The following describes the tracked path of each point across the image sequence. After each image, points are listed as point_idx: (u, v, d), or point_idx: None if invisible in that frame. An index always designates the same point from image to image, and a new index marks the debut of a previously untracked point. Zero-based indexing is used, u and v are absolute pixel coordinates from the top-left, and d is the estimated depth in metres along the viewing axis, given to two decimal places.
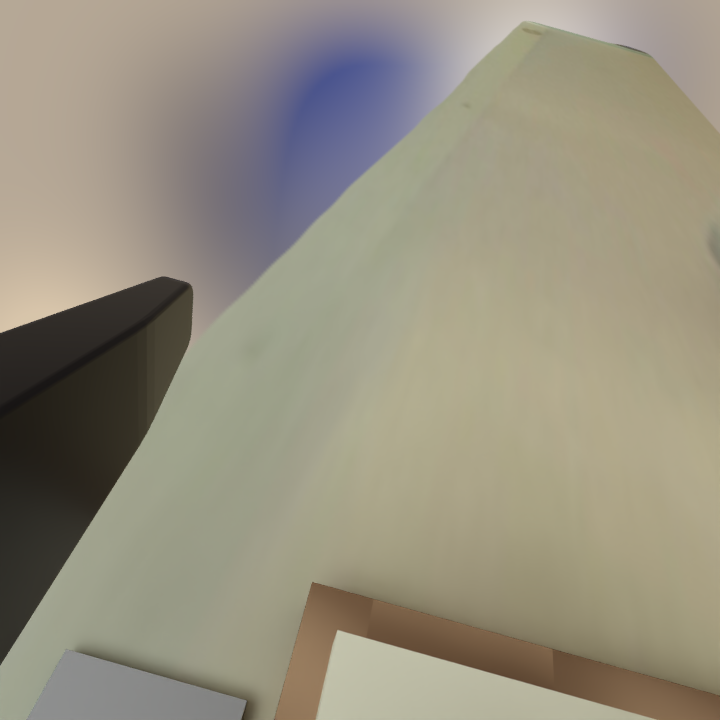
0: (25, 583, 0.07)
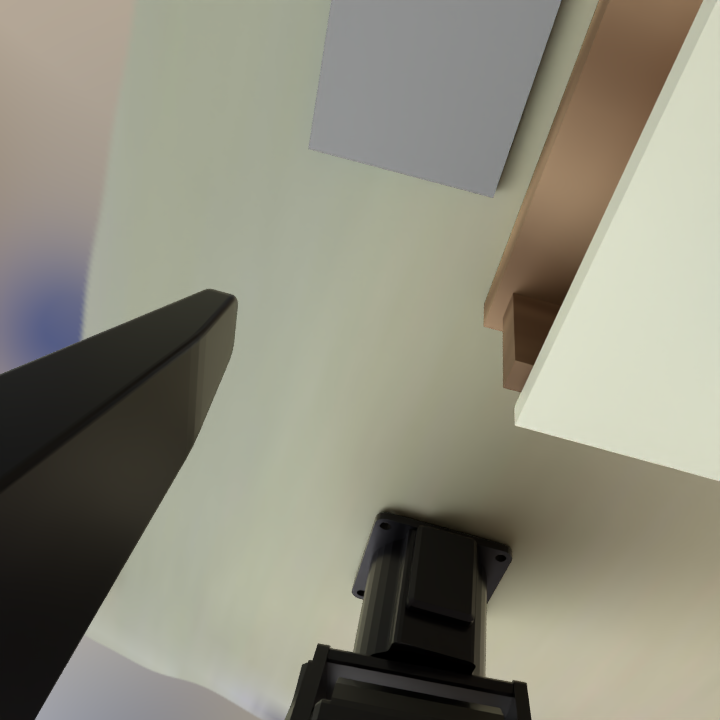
0: (82, 599, 0.07)
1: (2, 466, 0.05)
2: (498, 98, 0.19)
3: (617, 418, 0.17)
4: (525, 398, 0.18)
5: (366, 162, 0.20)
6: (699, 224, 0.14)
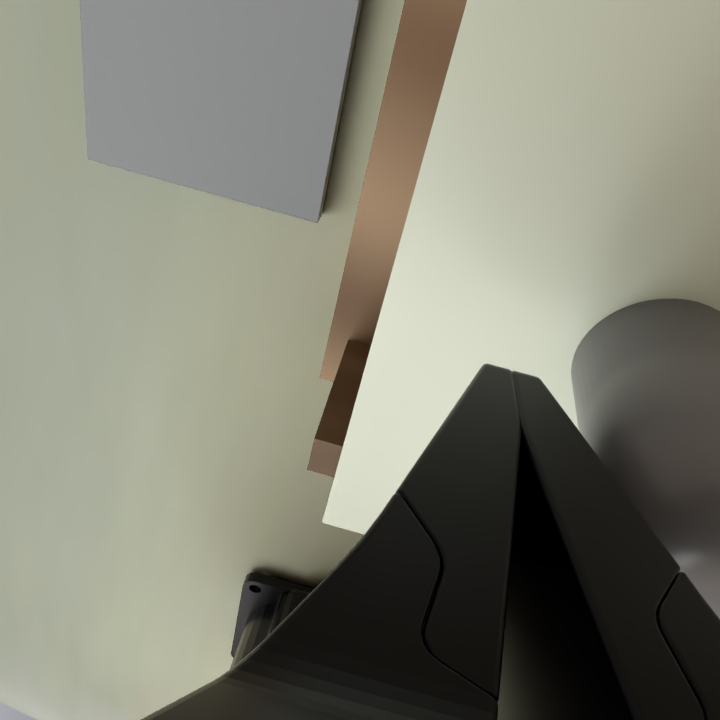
0: None
1: (489, 601, 0.05)
2: (304, 99, 0.15)
3: None
4: None
5: (159, 177, 0.16)
6: (506, 285, 0.10)
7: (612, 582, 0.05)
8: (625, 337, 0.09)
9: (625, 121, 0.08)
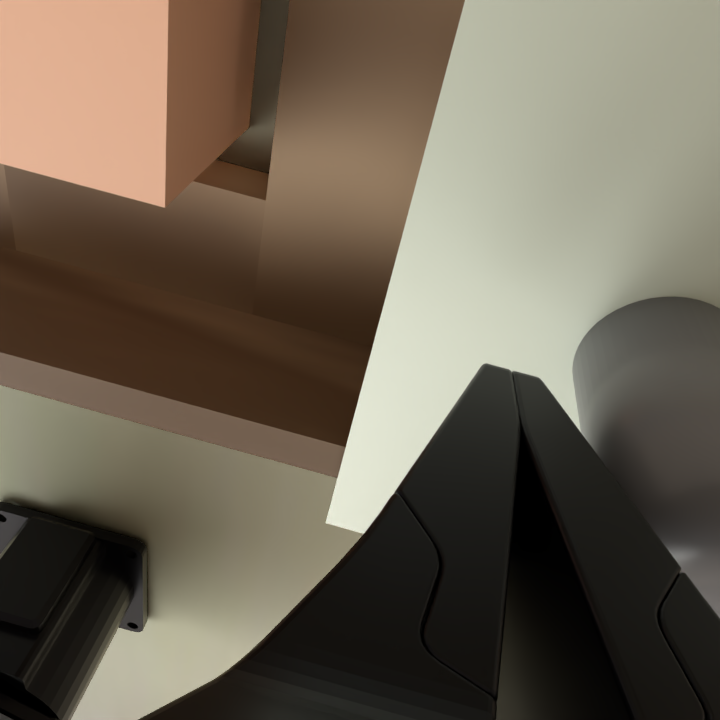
0: None
1: (488, 600, 0.05)
2: None
3: None
4: None
5: None
6: (506, 284, 0.10)
7: (613, 583, 0.05)
8: (626, 335, 0.09)
9: (623, 120, 0.08)
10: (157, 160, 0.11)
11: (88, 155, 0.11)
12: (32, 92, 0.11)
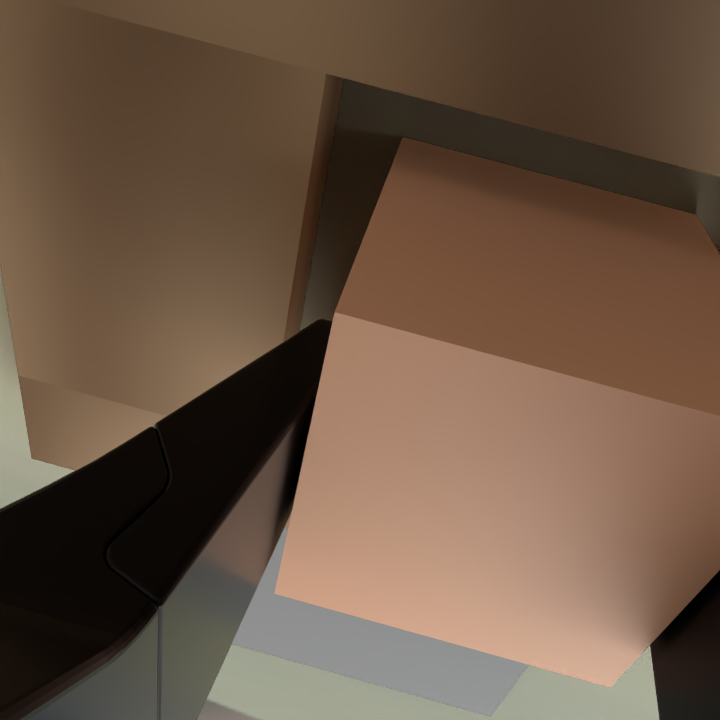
0: (224, 639, 0.07)
1: (198, 521, 0.05)
2: None
3: None
4: None
5: (511, 685, 0.17)
6: None
7: None
8: None
9: None
10: None
11: (684, 528, 0.07)
12: (565, 560, 0.07)
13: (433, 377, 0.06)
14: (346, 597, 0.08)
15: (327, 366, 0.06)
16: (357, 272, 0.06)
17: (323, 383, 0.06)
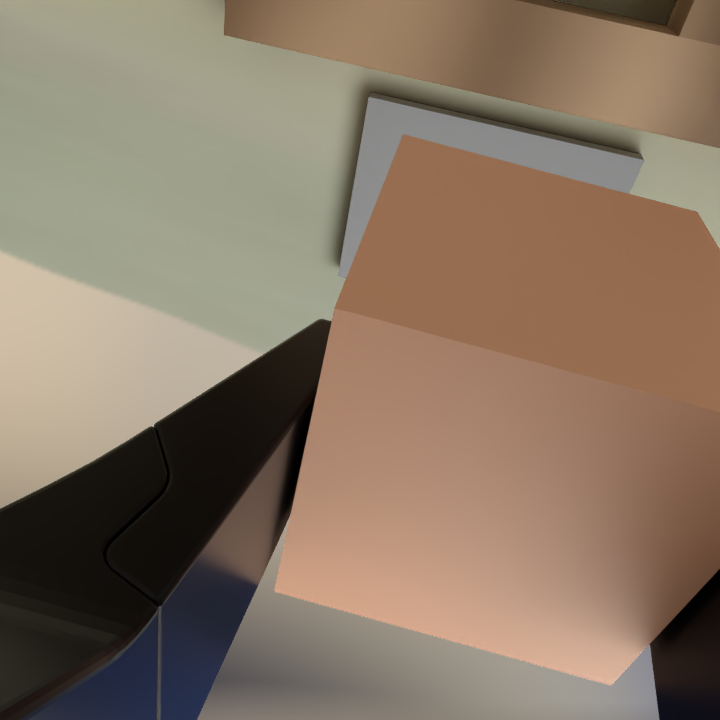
0: (224, 639, 0.07)
1: (198, 521, 0.05)
2: (535, 163, 0.19)
3: None
4: None
5: None
6: None
7: None
8: None
9: None
10: None
11: (685, 525, 0.06)
12: (565, 557, 0.07)
13: (433, 374, 0.06)
14: (346, 595, 0.08)
15: (327, 363, 0.06)
16: (357, 268, 0.06)
17: (323, 380, 0.06)
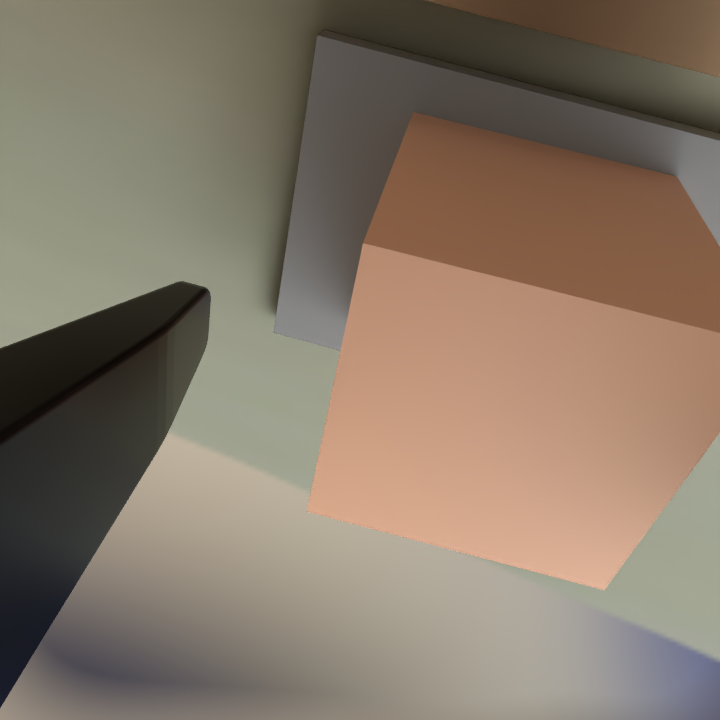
0: (47, 589, 0.07)
1: None
2: None
3: None
4: None
5: None
6: None
7: None
8: None
9: None
10: (693, 339, 0.07)
11: (660, 430, 0.08)
12: (560, 465, 0.08)
13: (445, 298, 0.07)
14: (370, 511, 0.09)
15: (356, 292, 0.07)
16: (380, 215, 0.07)
17: (352, 308, 0.07)
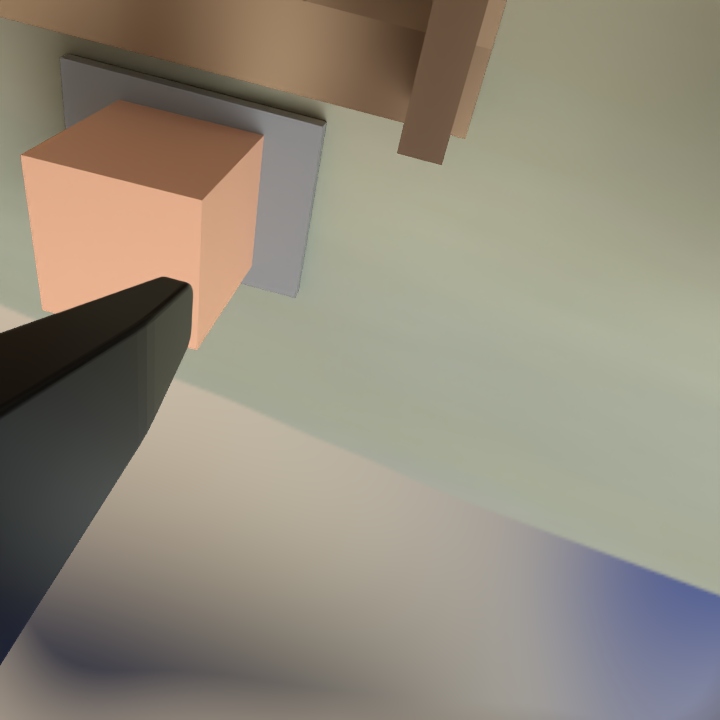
0: (25, 583, 0.07)
1: None
2: None
3: None
4: None
5: (301, 250, 0.21)
6: None
7: None
8: None
9: None
10: (167, 197, 0.15)
11: (176, 246, 0.16)
12: (145, 270, 0.17)
13: (62, 181, 0.16)
14: (72, 307, 0.18)
15: (25, 179, 0.16)
16: (41, 145, 0.16)
17: (26, 187, 0.16)
